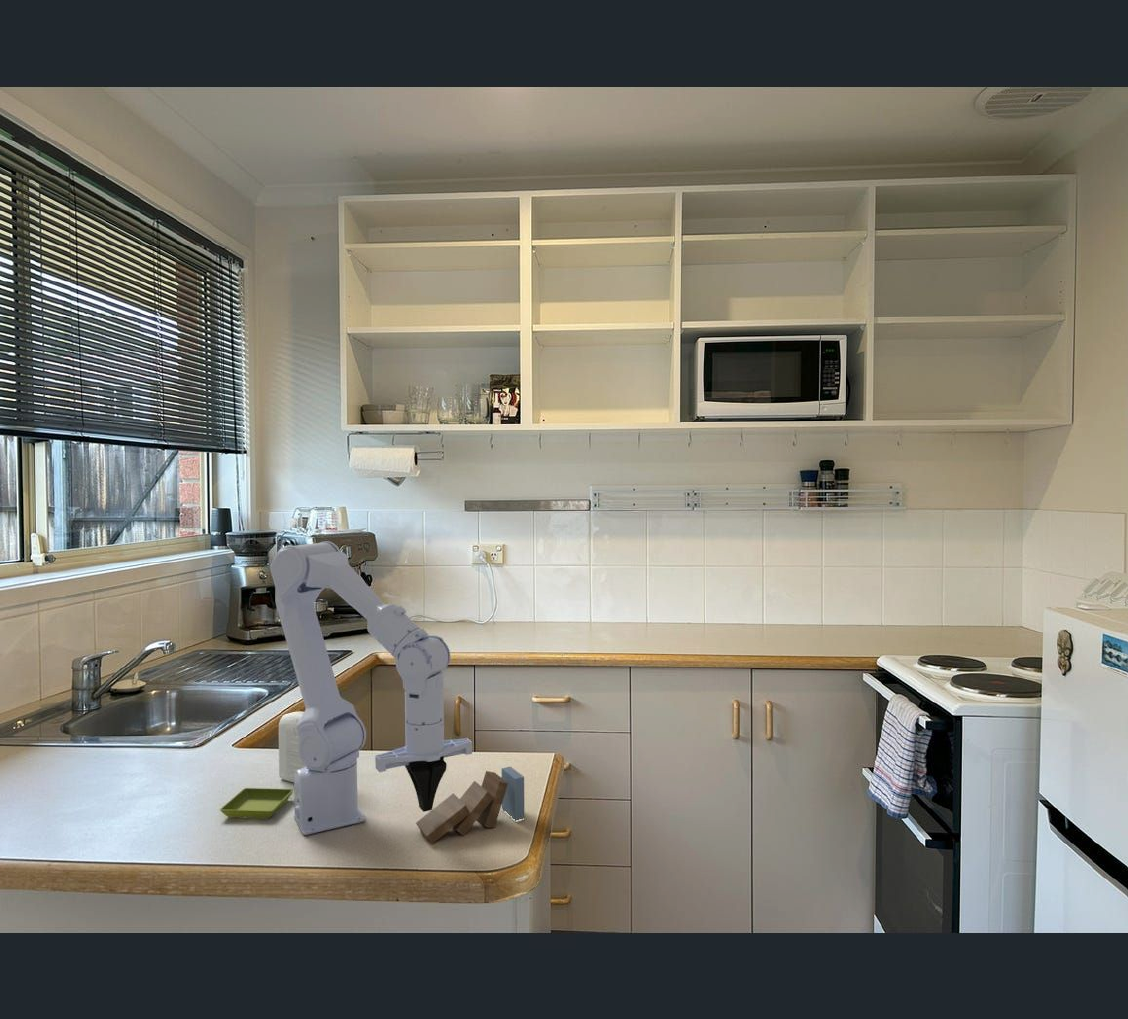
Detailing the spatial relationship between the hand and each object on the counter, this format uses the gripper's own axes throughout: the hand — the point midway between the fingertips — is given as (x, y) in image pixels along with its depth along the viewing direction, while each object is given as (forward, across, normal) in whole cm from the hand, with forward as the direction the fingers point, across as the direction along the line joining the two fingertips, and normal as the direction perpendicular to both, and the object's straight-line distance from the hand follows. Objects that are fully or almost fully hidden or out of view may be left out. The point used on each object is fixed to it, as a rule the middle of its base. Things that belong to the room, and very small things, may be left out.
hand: (425, 808), depth 114 cm
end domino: (+4, +15, 0) cm, 15 cm away
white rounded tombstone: (+5, -12, +32) cm, 34 cm away
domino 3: (+4, +9, 0) cm, 10 cm away
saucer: (+5, -20, +24) cm, 32 cm away
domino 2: (+4, +4, 0) cm, 6 cm away
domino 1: (+4, 0, 0) cm, 4 cm away
